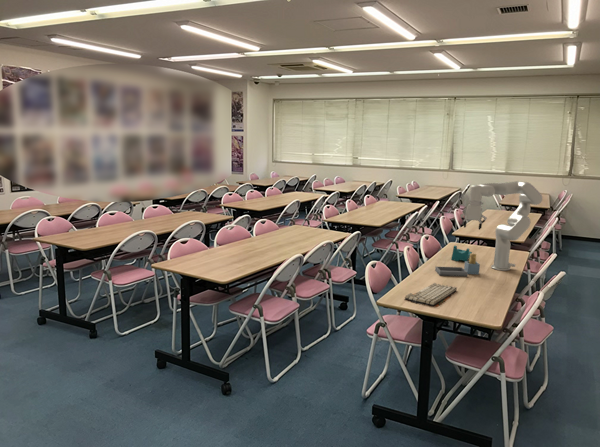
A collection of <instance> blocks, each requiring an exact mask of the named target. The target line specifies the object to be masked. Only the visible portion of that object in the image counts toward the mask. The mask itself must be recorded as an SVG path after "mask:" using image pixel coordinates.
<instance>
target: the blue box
mask: <svg viewBox="0 0 600 447" xmlns="http://www.w3.org/2000/svg"><path fill="white" fill-rule="evenodd" d="M463 266H464V268H463V269H464V270H466V271H467V272H468V273H467V275H480V268H481V267H480V266H481V264H480V263H479V262H478V261H476V263H475V264H469V260H467V261H464V265H463Z"/></svg>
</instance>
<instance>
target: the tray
mask: <svg viewBox="0 0 600 447" xmlns="http://www.w3.org/2000/svg"><path fill="white" fill-rule="evenodd" d="M434 271H435V273H437V275H438V276H439V277H464V278H465V277H467V278H468V274H467V273H468V272H467V271H466V270H464V268H463V267H461V266H459V267H458V266H457V267H456V266H436V265H435V269H434Z"/></svg>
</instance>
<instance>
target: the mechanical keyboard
mask: <svg viewBox="0 0 600 447" xmlns="http://www.w3.org/2000/svg"><path fill="white" fill-rule="evenodd" d="M457 289H458V287H456V286H453V285H449V286H448V285H445V284H440V283H438V284H437V283H436V282H433V283H431V284H430V285H428V286H426V287H424V288H423V289H420V290H418V291H417V292H415V293H411V292H410V293H408V294H407V295H405V297H404V299H403V300H404V301H408V302H411V303H413V304H416V305H417V304H419V305H424V306H428V307H432V308H435V307H436V308H438V307H439V306H441V305H442V304H444V303H446V301H447V300H449V299H450V298H451V297H452V295H454V294H456V293H457V292H458V290H457Z"/></svg>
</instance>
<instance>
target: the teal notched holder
mask: <svg viewBox="0 0 600 447" xmlns="http://www.w3.org/2000/svg"><path fill="white" fill-rule="evenodd" d="M471 253H472V254H473V252H472V251H470V248H468V247H467V248H466V250H465V249H460V248H458V247H457V245H454V246H453V250H452V254H451V259H450V260H451V261H456V262H459V261H463V262H465V261H469V259H470V254H471Z"/></svg>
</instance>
